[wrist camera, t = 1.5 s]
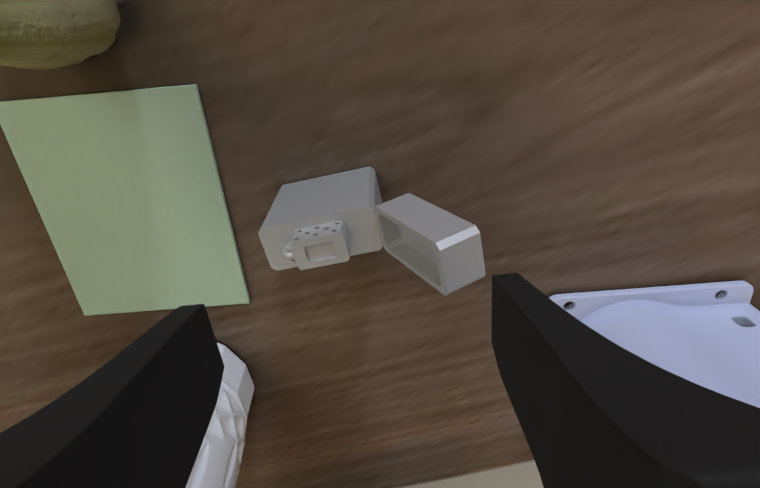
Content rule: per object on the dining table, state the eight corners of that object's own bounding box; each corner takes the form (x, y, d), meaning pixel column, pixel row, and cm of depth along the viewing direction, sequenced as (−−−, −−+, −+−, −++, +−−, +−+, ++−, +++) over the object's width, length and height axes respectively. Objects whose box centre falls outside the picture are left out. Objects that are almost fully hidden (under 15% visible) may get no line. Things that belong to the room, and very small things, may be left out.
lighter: (290, 222, 21) (248, 335, 14) (278, 185, 20) (227, 286, 13) (450, 189, 21) (490, 290, 14) (444, 150, 20) (483, 236, 13)
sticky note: (197, 83, 19) (195, 84, 18) (250, 300, 23) (249, 303, 23) (-6, 101, 19) (-10, 103, 19) (86, 313, 23) (84, 315, 23)
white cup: (296, 394, 26) (256, 603, 17) (192, 455, 28) (107, 670, 19) (187, 294, 23) (69, 483, 14) (80, 370, 25) (-83, 578, 16)
